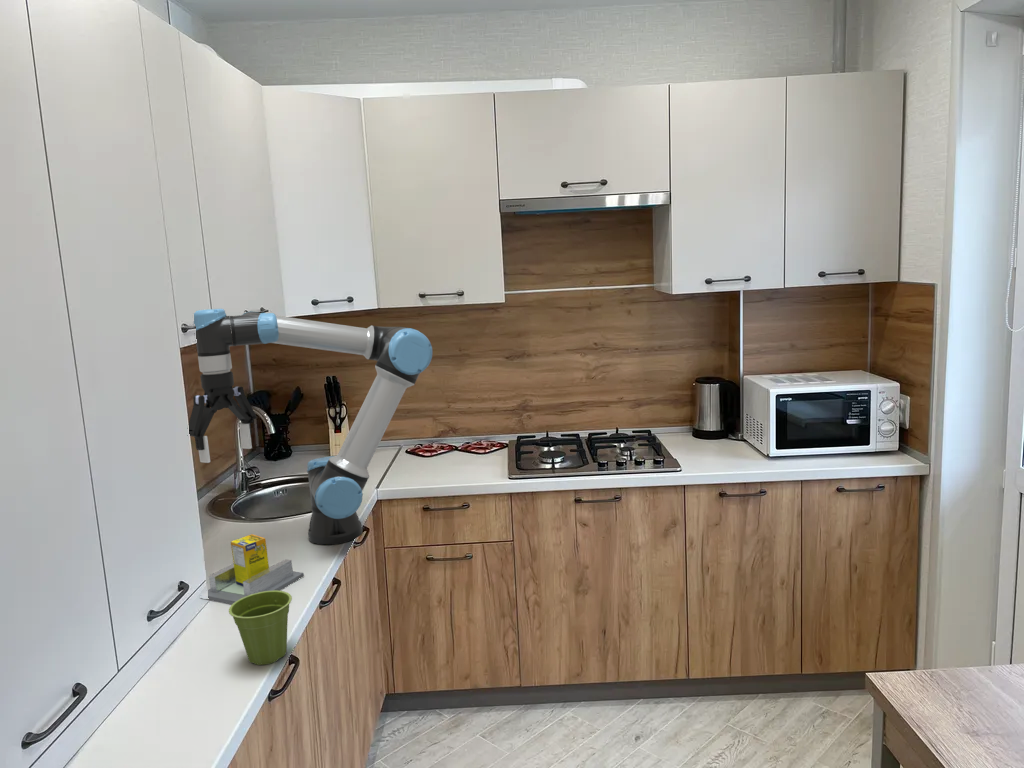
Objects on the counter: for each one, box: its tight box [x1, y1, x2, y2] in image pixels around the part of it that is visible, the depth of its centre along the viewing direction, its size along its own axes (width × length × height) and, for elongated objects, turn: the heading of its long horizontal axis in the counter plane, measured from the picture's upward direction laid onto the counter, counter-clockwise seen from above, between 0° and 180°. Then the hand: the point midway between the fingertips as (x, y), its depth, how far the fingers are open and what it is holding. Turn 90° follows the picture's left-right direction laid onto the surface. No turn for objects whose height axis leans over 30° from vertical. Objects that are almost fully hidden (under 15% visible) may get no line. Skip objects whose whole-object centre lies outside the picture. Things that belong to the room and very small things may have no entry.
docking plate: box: [207, 558, 305, 606], centre depth 180 cm, size 18×16×5 cm
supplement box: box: [230, 533, 270, 586], centre depth 180 cm, size 6×6×11 cm
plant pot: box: [228, 590, 293, 666], centre depth 146 cm, size 12×12×11 cm
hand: (226, 455), depth 187 cm, fingers open, 13 cm apart
